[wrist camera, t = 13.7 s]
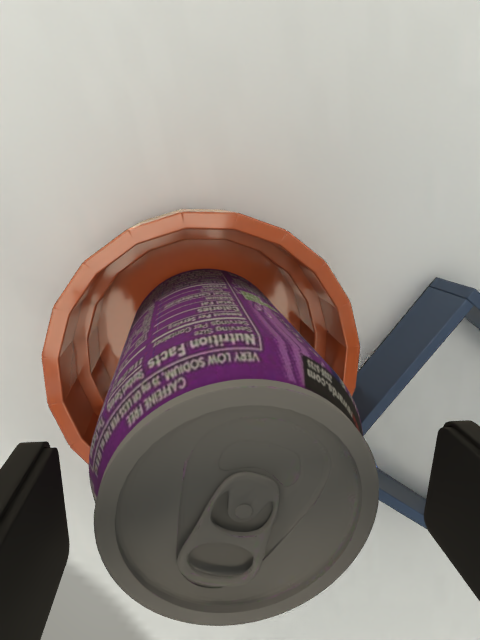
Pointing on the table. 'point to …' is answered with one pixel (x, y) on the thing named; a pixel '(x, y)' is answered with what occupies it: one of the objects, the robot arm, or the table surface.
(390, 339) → the blue square frame
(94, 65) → the table surface
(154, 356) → the beverage can
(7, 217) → the table surface
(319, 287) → the bowl
